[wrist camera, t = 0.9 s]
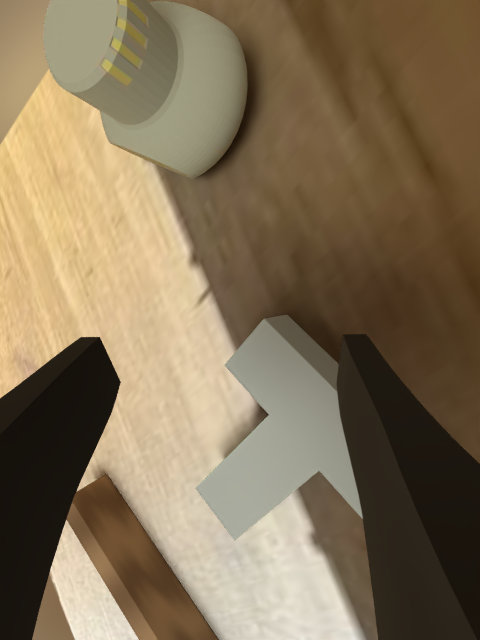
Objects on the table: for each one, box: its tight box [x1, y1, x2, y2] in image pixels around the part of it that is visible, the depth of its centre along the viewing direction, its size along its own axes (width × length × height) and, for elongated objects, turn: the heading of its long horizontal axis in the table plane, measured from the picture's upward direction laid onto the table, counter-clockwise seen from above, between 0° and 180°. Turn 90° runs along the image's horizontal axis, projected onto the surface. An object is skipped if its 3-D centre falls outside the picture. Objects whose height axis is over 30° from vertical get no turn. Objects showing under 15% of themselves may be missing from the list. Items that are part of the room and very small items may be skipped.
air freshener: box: [43, 0, 248, 179], centre depth 21 cm, size 11×8×10 cm
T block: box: [195, 315, 363, 540], centre depth 22 cm, size 12×12×4 cm
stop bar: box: [67, 474, 218, 640], centre depth 29 cm, size 18×2×4 cm, turn 49°
